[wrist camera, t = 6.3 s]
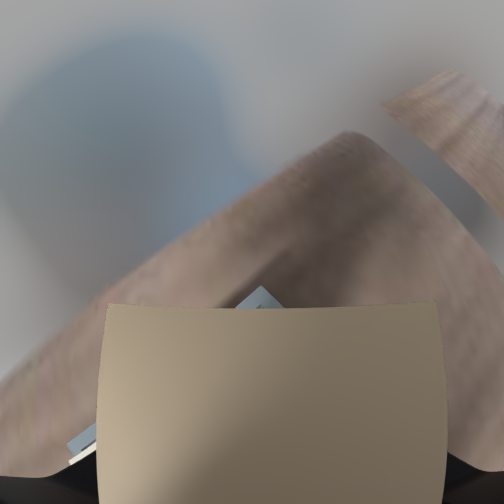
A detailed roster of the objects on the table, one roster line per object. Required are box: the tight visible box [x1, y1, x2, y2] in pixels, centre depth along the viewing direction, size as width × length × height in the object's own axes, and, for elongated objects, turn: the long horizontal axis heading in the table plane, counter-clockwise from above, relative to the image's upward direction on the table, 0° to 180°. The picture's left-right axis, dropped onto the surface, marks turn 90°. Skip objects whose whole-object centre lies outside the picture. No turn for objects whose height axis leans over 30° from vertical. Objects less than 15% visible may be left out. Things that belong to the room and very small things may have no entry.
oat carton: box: [96, 300, 448, 504], centre depth 8 cm, size 5×5×13 cm
